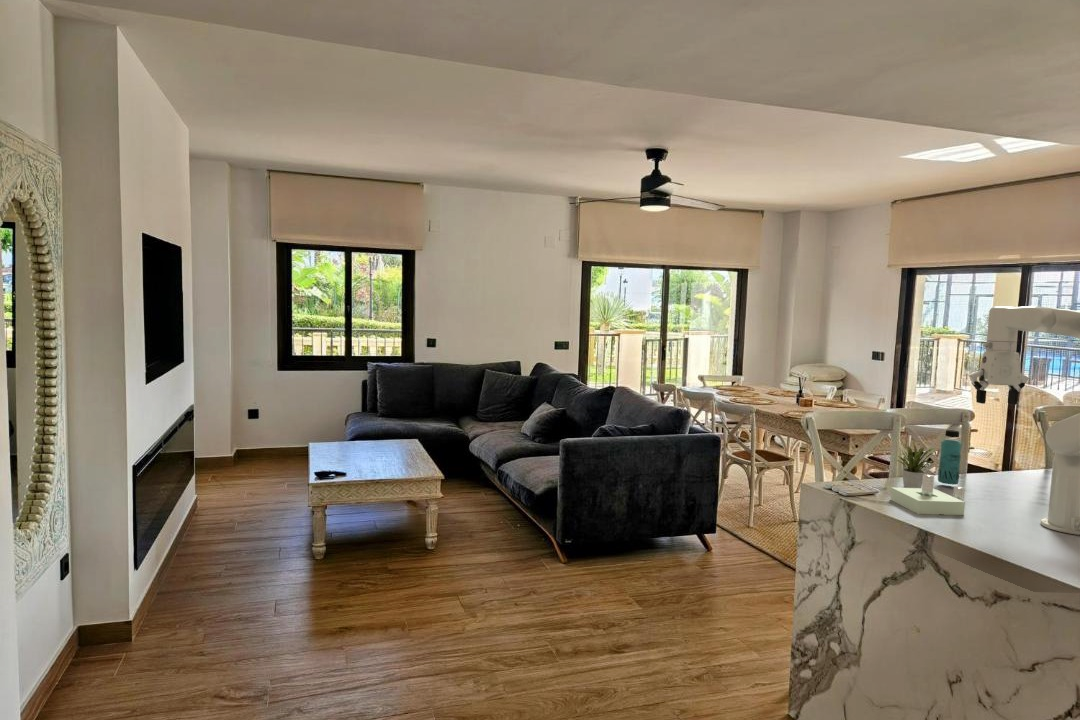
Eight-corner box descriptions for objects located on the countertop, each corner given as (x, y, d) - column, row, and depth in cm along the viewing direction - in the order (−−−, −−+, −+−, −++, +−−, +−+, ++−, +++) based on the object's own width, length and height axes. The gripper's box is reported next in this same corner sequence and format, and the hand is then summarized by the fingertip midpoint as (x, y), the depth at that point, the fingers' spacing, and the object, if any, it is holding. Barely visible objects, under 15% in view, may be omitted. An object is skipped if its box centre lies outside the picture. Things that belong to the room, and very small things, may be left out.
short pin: (965, 504, 210) (967, 489, 210) (956, 504, 210) (957, 488, 210) (959, 501, 213) (960, 486, 213) (950, 501, 213) (951, 486, 213)
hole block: (963, 515, 198) (964, 502, 198) (917, 513, 198) (918, 500, 197) (933, 500, 213) (934, 488, 213) (890, 499, 213) (891, 487, 212)
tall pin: (933, 508, 204) (936, 476, 203) (924, 508, 204) (926, 476, 203) (928, 505, 207) (930, 474, 206) (918, 505, 207) (920, 474, 206)
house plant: (950, 493, 223) (954, 445, 222) (921, 496, 218) (924, 447, 217) (912, 482, 237) (916, 437, 235) (884, 485, 231) (887, 439, 230)
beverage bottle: (932, 484, 235) (936, 428, 233) (946, 483, 237) (951, 428, 235) (948, 489, 228) (953, 432, 227) (963, 488, 230) (968, 431, 229)
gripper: (981, 347, 196) (976, 404, 197) (1038, 349, 196) (1033, 406, 198) (964, 345, 204) (960, 401, 205) (1020, 347, 204) (1015, 402, 205)
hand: (996, 403), depth 201 cm, fingers open, 9 cm apart
